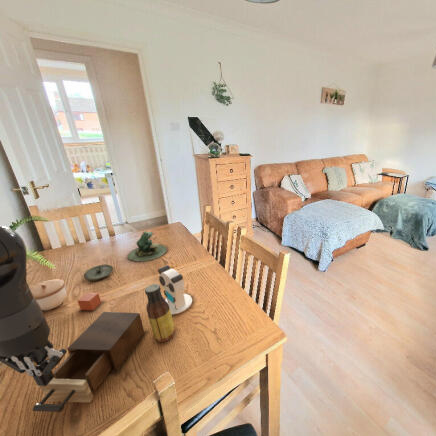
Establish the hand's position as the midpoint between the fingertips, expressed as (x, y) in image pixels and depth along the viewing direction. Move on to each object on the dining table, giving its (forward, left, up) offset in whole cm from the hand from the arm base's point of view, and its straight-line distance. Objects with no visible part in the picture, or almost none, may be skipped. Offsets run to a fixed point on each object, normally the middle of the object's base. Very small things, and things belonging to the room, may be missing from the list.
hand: (46, 381), depth 54 cm
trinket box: (-36, +35, -12) cm, 52 cm away
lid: (-32, +54, -12) cm, 64 cm away
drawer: (0, +6, -10) cm, 12 cm away
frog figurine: (-22, +75, -12) cm, 79 cm away
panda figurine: (+10, +38, -12) cm, 41 cm away
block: (-21, +35, -11) cm, 43 cm away
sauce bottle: (+13, +23, -12) cm, 29 cm away
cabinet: (0, +17, -11) cm, 21 cm away
